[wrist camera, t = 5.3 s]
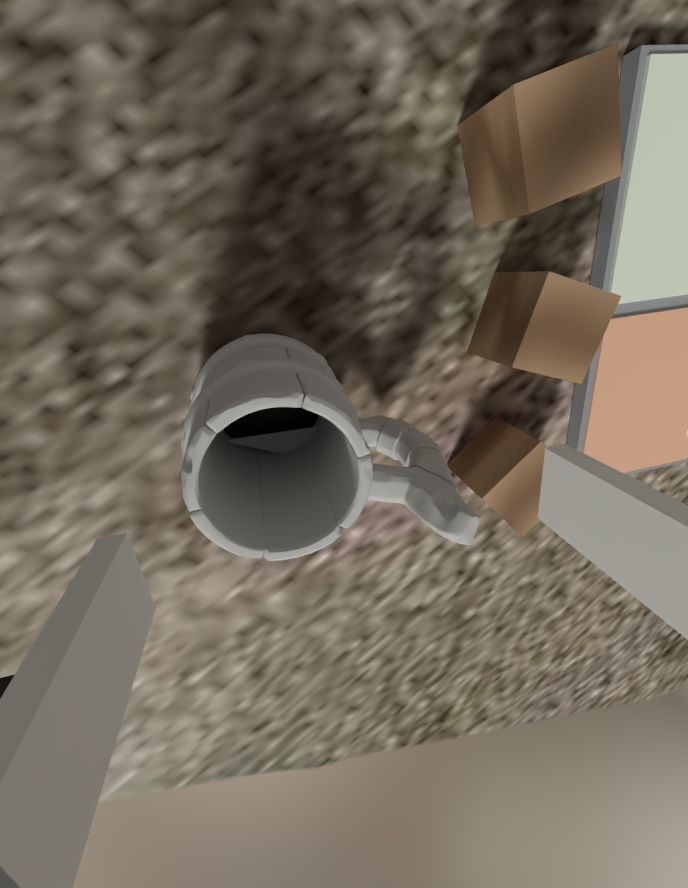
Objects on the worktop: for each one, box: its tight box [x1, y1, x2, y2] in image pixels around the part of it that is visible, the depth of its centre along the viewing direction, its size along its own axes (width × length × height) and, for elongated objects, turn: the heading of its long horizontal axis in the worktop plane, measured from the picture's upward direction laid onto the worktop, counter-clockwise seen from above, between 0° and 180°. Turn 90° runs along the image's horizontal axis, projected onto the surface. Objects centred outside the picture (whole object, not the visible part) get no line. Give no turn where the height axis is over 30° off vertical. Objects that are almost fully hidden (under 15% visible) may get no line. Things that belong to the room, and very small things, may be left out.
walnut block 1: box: [457, 43, 621, 226], centre depth 18 cm, size 4×4×4 cm
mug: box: [180, 334, 479, 561], centre depth 17 cm, size 8×12×12 cm, turn 77°
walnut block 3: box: [447, 416, 546, 536], centre depth 25 cm, size 4×4×4 cm
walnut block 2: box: [467, 271, 621, 384], centre depth 21 cm, size 4×4×4 cm
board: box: [566, 44, 688, 475], centre depth 24 cm, size 24×11×1 cm, turn 6°
